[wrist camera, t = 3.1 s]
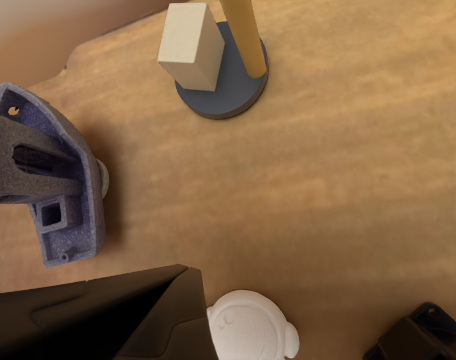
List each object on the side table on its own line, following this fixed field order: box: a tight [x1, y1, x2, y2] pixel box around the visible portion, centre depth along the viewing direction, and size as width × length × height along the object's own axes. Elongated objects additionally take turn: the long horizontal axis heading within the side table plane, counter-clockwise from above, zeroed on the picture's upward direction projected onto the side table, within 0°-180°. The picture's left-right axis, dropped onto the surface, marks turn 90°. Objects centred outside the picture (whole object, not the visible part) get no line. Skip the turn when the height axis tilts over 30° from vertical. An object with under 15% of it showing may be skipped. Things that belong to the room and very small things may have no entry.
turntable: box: [157, 0, 268, 119], centre depth 16 cm, size 8×8×14 cm
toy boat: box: [0, 82, 109, 268], centre depth 19 cm, size 15×8×13 cm, turn 13°
